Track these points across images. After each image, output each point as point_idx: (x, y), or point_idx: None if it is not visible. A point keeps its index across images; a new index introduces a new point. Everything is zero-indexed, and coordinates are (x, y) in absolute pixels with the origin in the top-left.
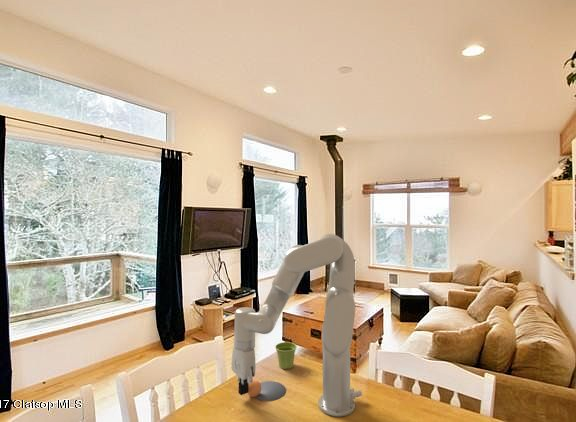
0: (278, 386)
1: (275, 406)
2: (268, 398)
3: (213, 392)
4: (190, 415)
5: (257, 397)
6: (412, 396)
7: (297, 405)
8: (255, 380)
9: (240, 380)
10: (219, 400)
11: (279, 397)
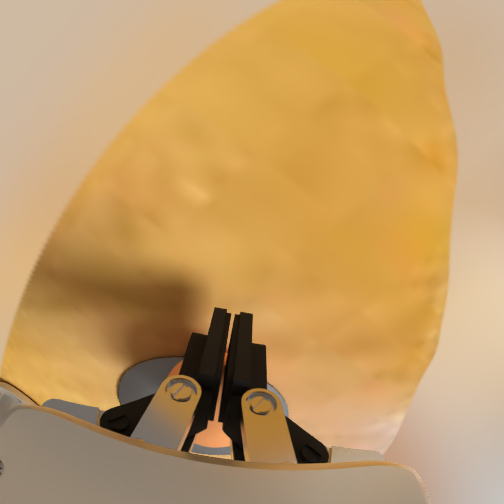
0: (196, 444)
1: (77, 354)
2: (138, 382)
3: (444, 226)
4: None
5: None
6: None
7: (56, 389)
8: (207, 445)
9: (238, 408)
10: (357, 190)
11: (121, 403)
